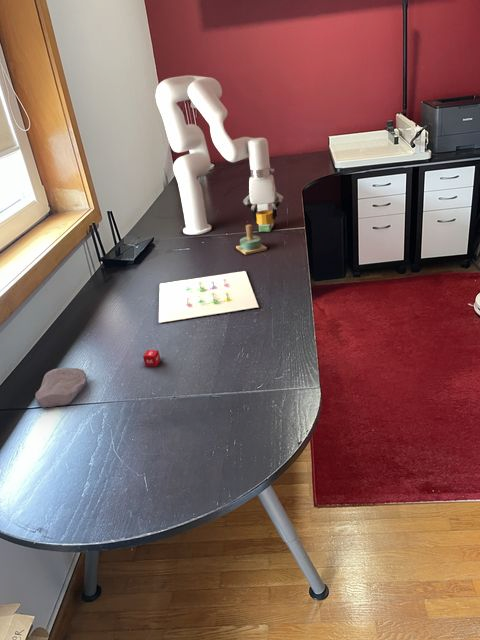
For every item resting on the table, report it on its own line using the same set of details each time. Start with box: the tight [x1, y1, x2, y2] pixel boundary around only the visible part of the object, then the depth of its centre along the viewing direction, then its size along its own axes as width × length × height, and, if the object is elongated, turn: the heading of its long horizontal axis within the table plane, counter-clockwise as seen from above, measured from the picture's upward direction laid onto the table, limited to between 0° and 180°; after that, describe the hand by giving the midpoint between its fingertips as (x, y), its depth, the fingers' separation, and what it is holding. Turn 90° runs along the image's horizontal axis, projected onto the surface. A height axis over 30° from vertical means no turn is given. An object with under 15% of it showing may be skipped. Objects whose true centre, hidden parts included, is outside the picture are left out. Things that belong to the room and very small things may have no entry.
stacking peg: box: [235, 224, 268, 256], centre depth 195 cm, size 9×9×9 cm
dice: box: [142, 349, 161, 367], centre depth 129 cm, size 3×3×3 cm
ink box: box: [256, 203, 275, 233], centre depth 214 cm, size 9×5×12 cm, turn 168°
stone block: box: [35, 367, 87, 409], centre depth 121 cm, size 12×5×10 cm
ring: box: [255, 210, 275, 226], centre depth 201 cm, size 7×7×4 cm
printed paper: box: [158, 270, 259, 324], centre depth 163 cm, size 30×30×2 cm
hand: (265, 218), depth 202 cm, fingers closed on ring, 6 cm apart
